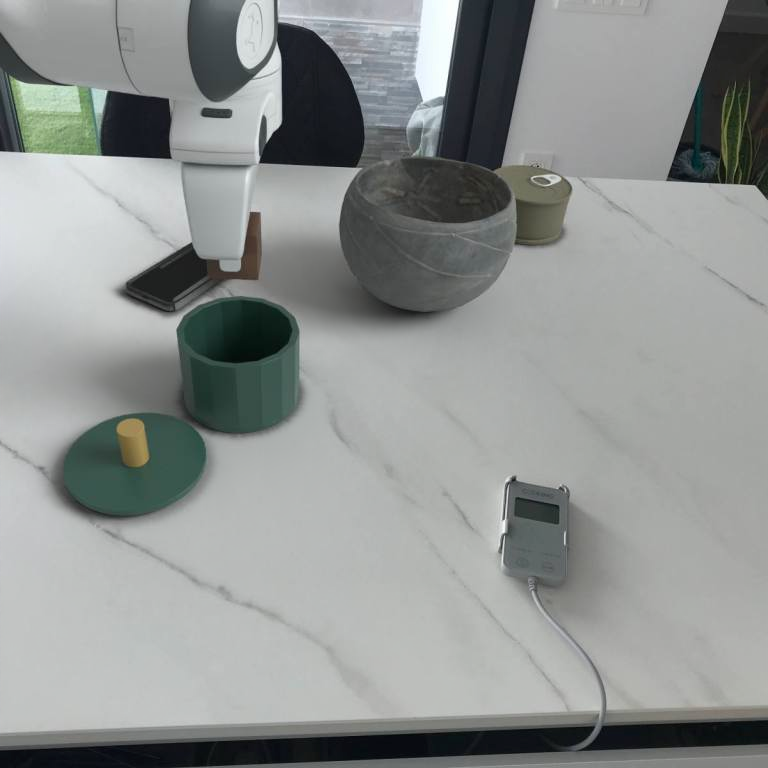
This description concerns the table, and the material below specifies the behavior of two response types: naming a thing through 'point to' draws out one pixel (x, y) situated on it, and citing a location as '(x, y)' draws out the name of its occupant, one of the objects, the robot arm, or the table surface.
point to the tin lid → (134, 463)
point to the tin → (239, 363)
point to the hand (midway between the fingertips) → (234, 250)
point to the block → (249, 257)
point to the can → (537, 202)
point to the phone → (172, 280)
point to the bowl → (427, 231)
